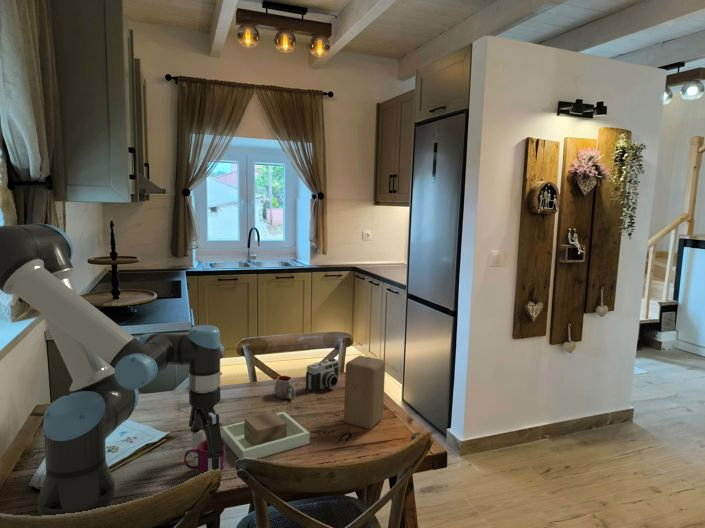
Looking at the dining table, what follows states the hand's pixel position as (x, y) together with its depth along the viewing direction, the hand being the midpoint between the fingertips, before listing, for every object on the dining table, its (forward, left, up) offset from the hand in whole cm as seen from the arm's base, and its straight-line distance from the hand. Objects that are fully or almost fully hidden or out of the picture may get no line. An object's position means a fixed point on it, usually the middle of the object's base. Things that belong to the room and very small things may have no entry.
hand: (205, 467), depth 120 cm
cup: (0, 0, -1) cm, 1 cm away
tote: (+19, +5, -1) cm, 20 cm away
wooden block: (+52, +2, -1) cm, 52 cm away
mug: (+39, +31, -1) cm, 50 cm away
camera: (+56, +32, -1) cm, 64 cm away
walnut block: (+19, +5, 0) cm, 20 cm away
